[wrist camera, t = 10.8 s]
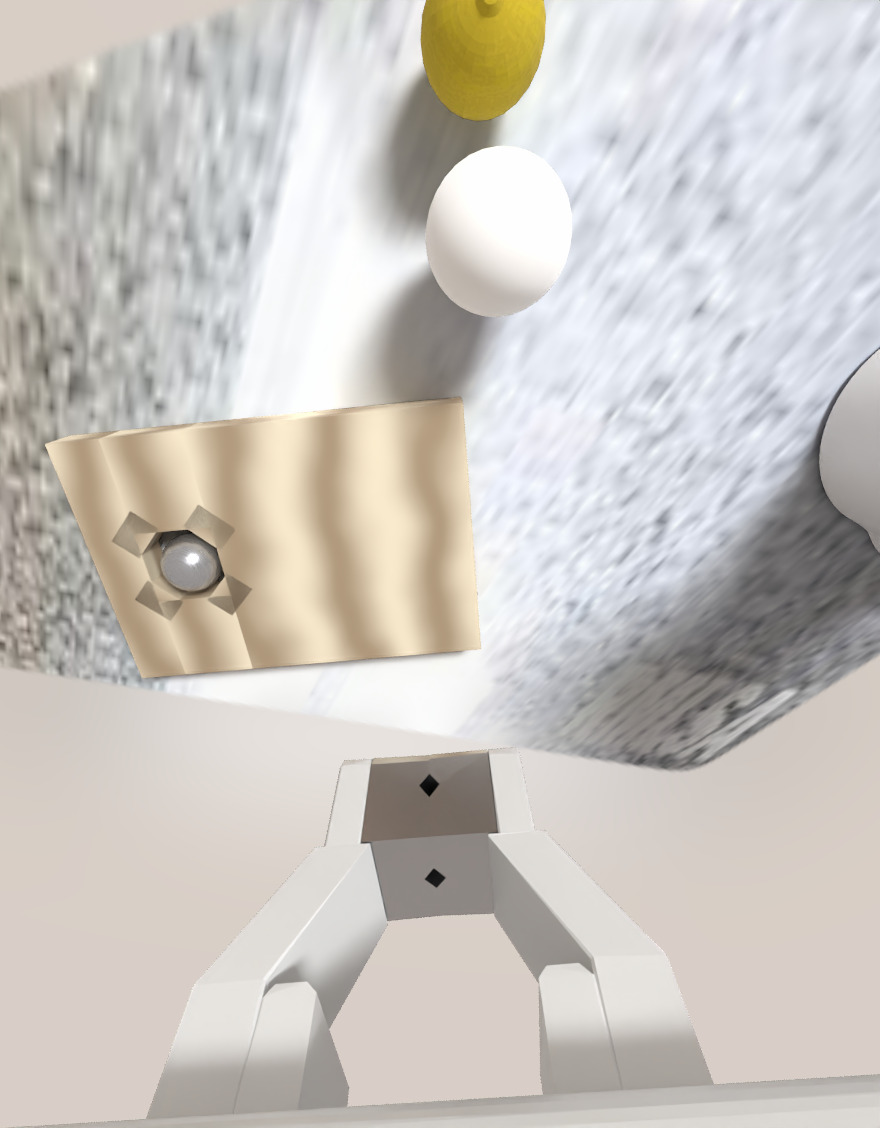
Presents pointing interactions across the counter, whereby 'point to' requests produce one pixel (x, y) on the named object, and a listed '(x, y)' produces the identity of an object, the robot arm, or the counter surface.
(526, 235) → the light bulb
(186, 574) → the ball
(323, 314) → the counter surface
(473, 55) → the lemon
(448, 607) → the beige flat wooden board
